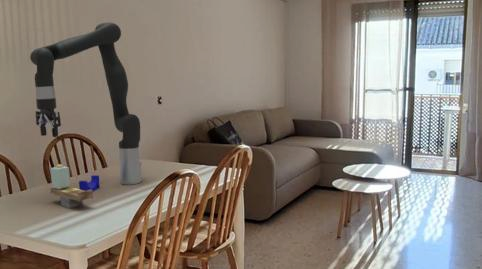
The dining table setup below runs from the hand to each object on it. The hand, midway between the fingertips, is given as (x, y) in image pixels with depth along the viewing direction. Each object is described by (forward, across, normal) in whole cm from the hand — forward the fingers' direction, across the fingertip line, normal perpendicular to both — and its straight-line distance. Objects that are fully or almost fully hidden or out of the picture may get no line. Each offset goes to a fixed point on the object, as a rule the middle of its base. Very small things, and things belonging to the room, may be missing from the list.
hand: (49, 136), depth 193 cm
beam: (+26, -16, +3) cm, 31 cm away
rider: (+20, -9, +3) cm, 22 cm away
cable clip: (+27, -3, -14) cm, 31 cm away
